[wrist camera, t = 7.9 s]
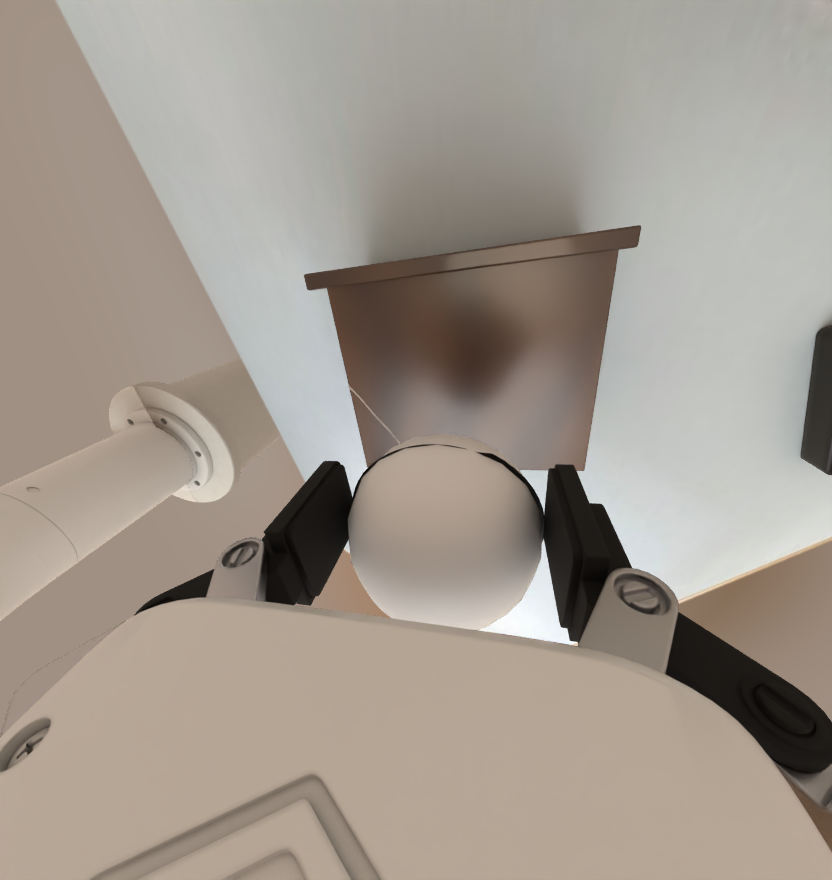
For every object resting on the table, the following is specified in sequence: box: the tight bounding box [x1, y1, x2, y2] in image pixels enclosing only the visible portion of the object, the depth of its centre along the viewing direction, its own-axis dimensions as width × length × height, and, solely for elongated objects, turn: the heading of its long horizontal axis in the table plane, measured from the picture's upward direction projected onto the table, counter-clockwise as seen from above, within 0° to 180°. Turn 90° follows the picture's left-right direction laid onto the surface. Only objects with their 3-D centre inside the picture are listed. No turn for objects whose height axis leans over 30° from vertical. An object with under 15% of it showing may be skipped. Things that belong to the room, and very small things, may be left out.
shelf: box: [304, 225, 641, 471], centre depth 23 cm, size 16×14×10 cm
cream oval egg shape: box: [348, 386, 545, 631], centre depth 12 cm, size 10×7×7 cm
